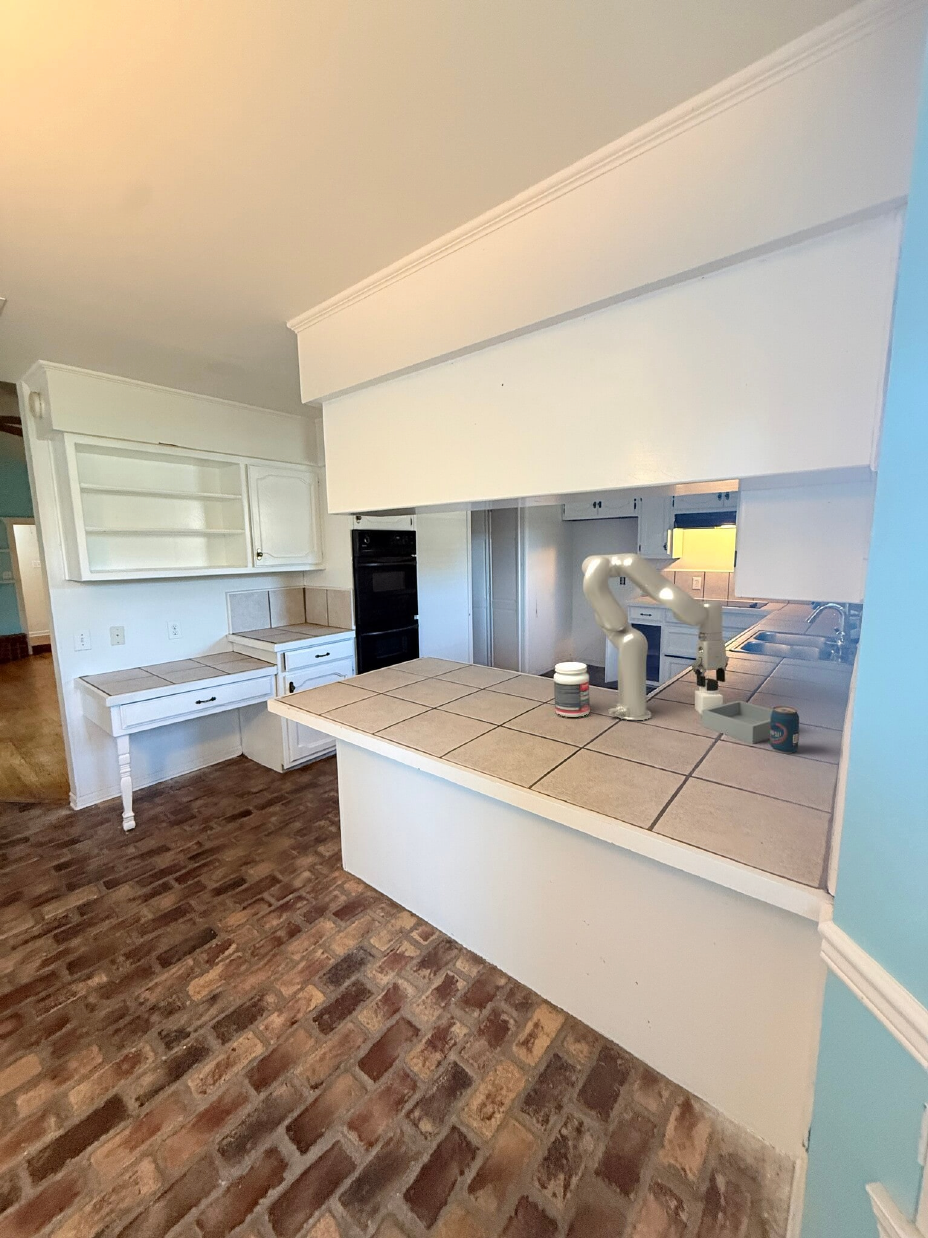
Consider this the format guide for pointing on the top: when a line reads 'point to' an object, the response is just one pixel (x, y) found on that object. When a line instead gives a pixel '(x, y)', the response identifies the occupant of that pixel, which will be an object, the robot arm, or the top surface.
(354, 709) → the top surface
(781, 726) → the soda can
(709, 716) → the bin
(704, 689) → the medicine bottle
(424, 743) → the top surface
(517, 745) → the top surface
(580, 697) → the supplement tub
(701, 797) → the top surface
